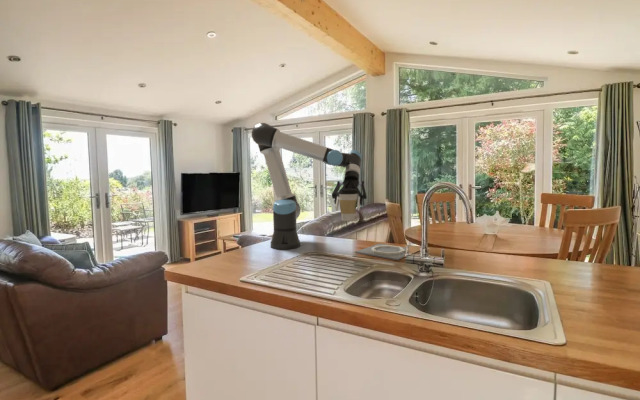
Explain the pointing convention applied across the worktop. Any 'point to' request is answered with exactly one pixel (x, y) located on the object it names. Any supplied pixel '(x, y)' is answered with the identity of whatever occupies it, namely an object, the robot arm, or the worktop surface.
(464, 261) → the worktop surface
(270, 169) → the robot arm
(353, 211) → the coffee cup
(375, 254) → the slate board
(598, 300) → the worktop surface
